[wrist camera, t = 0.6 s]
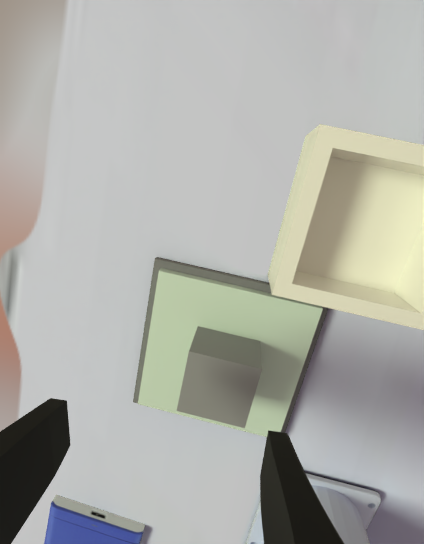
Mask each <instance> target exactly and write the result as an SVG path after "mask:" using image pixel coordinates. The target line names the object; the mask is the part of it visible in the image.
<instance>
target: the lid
mask: <svg viewBox="0 0 424 544" xmlns="http://www.w3.org/2000/svg"><path fill="white" fill-rule="evenodd" d="M322 310H323V308H322V306H318V305H314V304H309V303H305V302H301V301H297V300H292V299H288V298H284V297H279V296H275V295H272V294H271V293H267V292H262V291H258V290H254V289H249V288H245V287H241V286H237V285H232V284H228V283H224V282H219V281H215V280H211V279H206V278H202V277H198V276H193V275H189V274H185V273H181V272H176V271H172V270H168V269H163V268H161V269H160V270H159V273H158V279H157V285H156V292H155V298H154V304H153V311H152V317H151V323H150V330H149V336H148V342H147V349H146V355H145V361H144V367H143V374H142V380H141V386H140V393H139V399H138V404H140V405H144V406H148V407H152V408H156V409H160V410H163V411H167V412H171V413H175V414H179V415H183V416H187V417H191V418H195V419H199V420H202V421H206V422H210V423H214V424H218V425H222V426H226V427H230V428H234V429H238V430H241V431H245V432H249V433H253V434H257V435H261V436H265V437H267V435H268V430H269V431H276V432H281V430H282V427H283V424H284V421H285V418H286V415H287V412H288V409H289V406H290V403H291V400H292V397H293V395H294V392H295V389H296V386H297V383H298V380H299V377H300V374H301V371H302V368H303V365H304V363H305V360H306V357H307V354H308V351H309V348H310V345H311V342H312V339H313V336H314V333H315V331H316V328H317V325H318V322H319V319H320V316H321V313H322Z"/></svg>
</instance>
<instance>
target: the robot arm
mask: <svg viewBox="0 0 424 544" xmlns="http://www.w3.org/2000/svg"><path fill="white" fill-rule="evenodd" d="M69 447H70V436H69V423H68V410H67V401H65V400H58V399H52V398H50V399H49V400H47V401H46V402H44V403H43V404H41V405H40V406H38V407H37V408H35V409H34V410H32V411H31V412H29V413H28V414H26V415H25V416H23V417H22V418H20V419H19V420H17V421H16V422H14V423H13V424H11V425H10V426H8V427H7V428H5V429H4V430H2V431H1V432H0V544H11V543H12V541H13V540H14V538H15V537H16V535H17V534H18V532H19V531H20V529H21V527H22V526H23V524H24V523H25V521H26V520H27V518H28V517H29V515H30V514H31V512H32V511H33V509H34V507H35V506H36V504H37V503H38V501H39V500H40V498H41V497H42V495H43V493H44V492H45V490H46V489H47V487H48V486H49V484H50V483H51V481H52V479H53V478H54V476H55V474H56V472H57V470H58V469H59V467H60V465H61V463H62V461H63V459H64V457H65V455H66V453H67V451H68V449H69ZM260 490H261V500H260V503H259V506H258V509H257V512H256V515H255V518H254V520H253V523H252V526H251V529H250V532H249V535H248V538H247V541H246V543H245V544H370V542H369V539H368V536H367V533H366V530H367V528H368V526H369V524H370V522H371V520H372V518H373V516H374V514H375V512H376V510H377V508H378V506H379V505H380V503H381V498H380V496H379V494H378V493H377V492H375V491H372V490H368V489H364V488H360V487H357V486H353V485H349V484H345V483H341V482H337V481H334V480H330V479H326V478H322V477H318V476H314V475H311V474H307V473H305V471H304V469H303V467H302V465H301V463H300V461H299V459H298V457H297V454H296V452H295V450H294V447H293V445H292V443H291V440H290V438H289V436H288V435H287V433H283V432H276V431H269V430H268V435H267V440H266V446H265V452H264V458H263V463H262V469H261V475H260Z"/></svg>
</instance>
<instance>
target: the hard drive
mask: <svg viewBox="0 0 424 544" xmlns="http://www.w3.org/2000/svg"><path fill="white" fill-rule="evenodd" d="M144 527H145V524H143V523H139V522H136V521H133V520H130V519H127V518H124V517H121V516H118V515H115V514H112V513H109V512H107V511H104V510H101V509H98V508H95V507H92V506H89V505H86V504H83V503H80V502H77V501H74V500H71V499H68V498H65V497H62V496H59V495H56V496H55V498H54V499H53V501H52V503H51V507H50V513H49V519H48V525H47V531H46V537H45V543H44V544H140V541H141V537H142V534H143V531H144Z"/></svg>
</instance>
